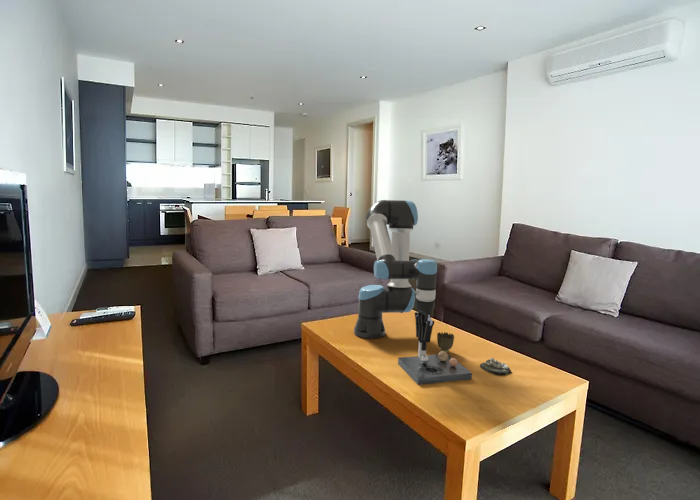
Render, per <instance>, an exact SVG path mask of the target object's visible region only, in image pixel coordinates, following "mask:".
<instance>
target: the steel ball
mask: <svg viewBox="0 0 700 500" xmlns="http://www.w3.org/2000/svg"><path fill="white" fill-rule="evenodd" d="M426 355H427V354H426ZM426 355H423V356H421V358H420V361H421V362H422V363H423V364H427V363H428V362H429V357H428V356H426Z"/></svg>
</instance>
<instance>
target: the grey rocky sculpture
mask: <svg viewBox="0 0 700 500" xmlns="http://www.w3.org/2000/svg"><path fill="white" fill-rule="evenodd" d="M479 368H481V370H483V371H485V372H486V373H489V374H491V375H495V376H501V377H502V376H503V377H504V376H508V375H510V374H511V373H513V372H512V370H511V368H510V367H509V366H508V365H507V364H505V363H504V362H501V361H498V360H497V359H495V358H494V357H491V358H490V359H486V360H485V362H481V363H480V364H479Z"/></svg>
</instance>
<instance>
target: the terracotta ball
mask: <svg viewBox="0 0 700 500" xmlns="http://www.w3.org/2000/svg"><path fill="white" fill-rule="evenodd" d="M458 363H459V362H458V359H456V358H455V357H452V358H451V359H450V360H449V364H450V365H451V366H453V367H455V366H456V365H457V364H458Z"/></svg>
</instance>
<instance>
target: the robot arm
mask: <svg viewBox="0 0 700 500" xmlns="http://www.w3.org/2000/svg"><path fill="white" fill-rule="evenodd" d="M365 220H366V221H365V223H366V225H367V228H368V229H369V230H370V234H371V235H370V236H371V239H372V242H373V248H374V253H375V256H376V260H375V261H374V264H373V275H374V277H375V279H378V280H390V281H389V282H388V283H387V284H386V288H384V286H383V285H380V284H370V285H365V286H363V287H361V288H360V289H359V292H358V293H359V294H358V314H357V317H358V318H357V319H356V322H355V325H354V328H353V333H354V335H355V336H356V337H360V338H362V339H380V338H382V337H384V336H385V335H386V328H385V324H384V321H383V314H385V313H386V314H387V313H388V314H389V313H391V314H392V313H394V314H395V313H397V314H398V313H400V314H404V313H410V312H411V311H412V310H413V308H415V309H416V310H417V311H416V312H414V317H415V318H414V319H415V337H416V338H417V340H418V351H417V352H418V353H417V356H418V357H419V358H421V356H423V355H427V344H428V343H430V342H431V338H432V334H433V327H434V324H435V320H432V311H434V310H435V309H436V307H435V306H436V304H435V303H436V301H435V300H436V290H437V289H436V286H437V273H438V262H437V261H436V260H434V259H429V258H424V259H423V258H422V259H411V260H410V239H411V238H410V237H411V236H410V235H411V232H412V231H413V230H414V226H416V225H417V224H418V221H419V213H418V208H417V206H416V203H415V202H413V201H412V200H399V199H398V200H396V199H395V200H390V199H388V200H387V199H382V200H378V201H376V202H375V203H373V204H372V205H371V206H370V207H369V209H368V210H367V213H366V216H365ZM388 229H389V230H390V232H391V236H390V234H389V231H388ZM390 237H391V238H390ZM409 280H416V281H415V282H416V283H415V285H416V287H415V288H416V289H415V290H414V288H412V285H411V284H410V282H409Z"/></svg>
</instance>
